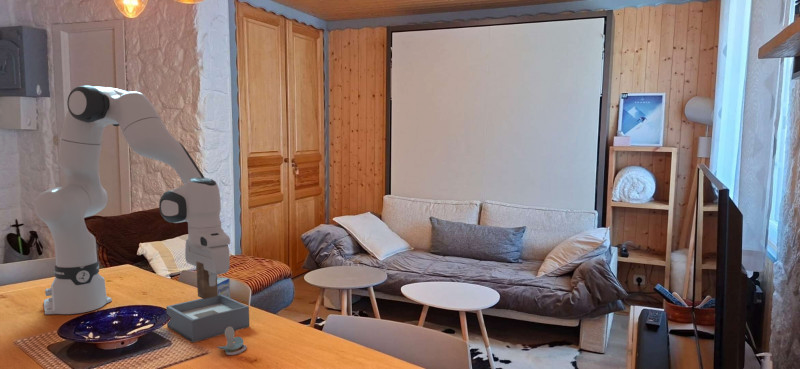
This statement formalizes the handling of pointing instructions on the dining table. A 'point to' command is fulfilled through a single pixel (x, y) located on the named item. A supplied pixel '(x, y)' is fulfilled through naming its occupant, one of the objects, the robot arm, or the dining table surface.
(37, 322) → the dining table surface
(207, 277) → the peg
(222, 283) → the medicine box
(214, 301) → the bin
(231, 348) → the pacifier
